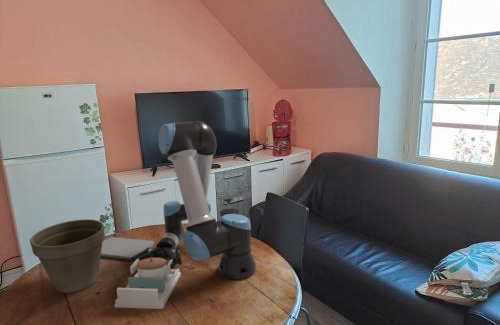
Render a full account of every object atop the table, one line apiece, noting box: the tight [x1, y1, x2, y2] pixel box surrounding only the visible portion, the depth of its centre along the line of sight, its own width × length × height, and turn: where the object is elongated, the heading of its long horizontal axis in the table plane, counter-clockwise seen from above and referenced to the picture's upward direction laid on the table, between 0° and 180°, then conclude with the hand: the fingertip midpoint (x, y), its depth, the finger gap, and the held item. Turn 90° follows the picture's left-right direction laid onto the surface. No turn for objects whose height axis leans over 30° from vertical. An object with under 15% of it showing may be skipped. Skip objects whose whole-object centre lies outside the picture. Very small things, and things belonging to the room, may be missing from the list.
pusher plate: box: [127, 276, 165, 292], centre depth 124 cm, size 1×13×5 cm, turn 85°
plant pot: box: [29, 218, 106, 294], centre depth 131 cm, size 25×25×22 cm
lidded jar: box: [136, 257, 167, 278], centre depth 129 cm, size 11×11×9 cm
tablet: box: [101, 236, 155, 261], centre depth 159 cm, size 16×26×2 cm, turn 75°
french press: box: [216, 198, 240, 223], centre depth 159 cm, size 12×9×23 cm
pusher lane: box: [114, 268, 182, 310], centre depth 126 cm, size 22×17×7 cm
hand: (148, 271), depth 126 cm, fingers open, 13 cm apart
